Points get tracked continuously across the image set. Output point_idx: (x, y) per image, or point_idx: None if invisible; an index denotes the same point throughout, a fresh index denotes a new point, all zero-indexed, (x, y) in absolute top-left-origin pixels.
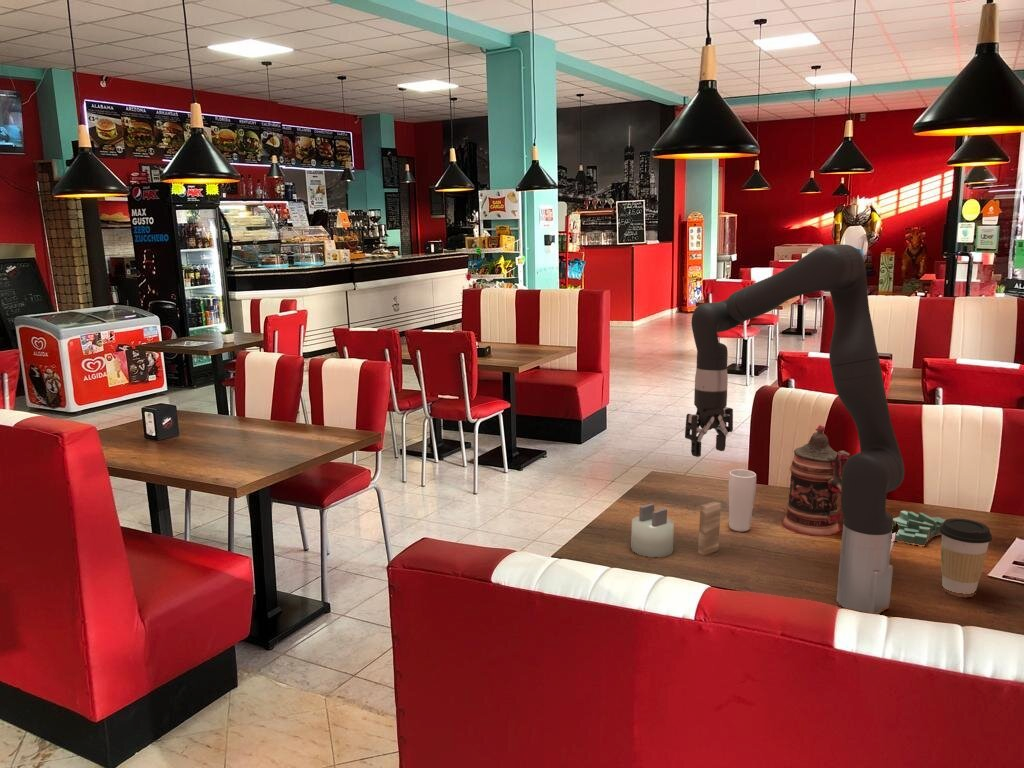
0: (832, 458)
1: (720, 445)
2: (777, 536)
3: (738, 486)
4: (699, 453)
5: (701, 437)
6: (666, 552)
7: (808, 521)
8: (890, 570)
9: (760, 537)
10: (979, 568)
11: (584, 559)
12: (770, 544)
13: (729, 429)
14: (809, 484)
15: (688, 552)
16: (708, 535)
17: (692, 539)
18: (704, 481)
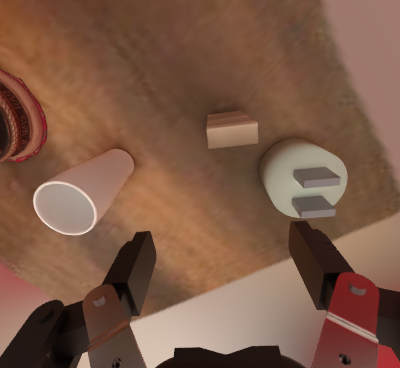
0: None
1: (146, 255)
2: (81, 109)
3: (100, 185)
4: (307, 227)
5: (343, 296)
6: (295, 139)
7: (4, 93)
8: None
9: (110, 120)
10: None
11: (394, 186)
12: (112, 89)
13: (58, 319)
14: None
15: None
16: (237, 115)
17: (211, 166)
18: (65, 296)
